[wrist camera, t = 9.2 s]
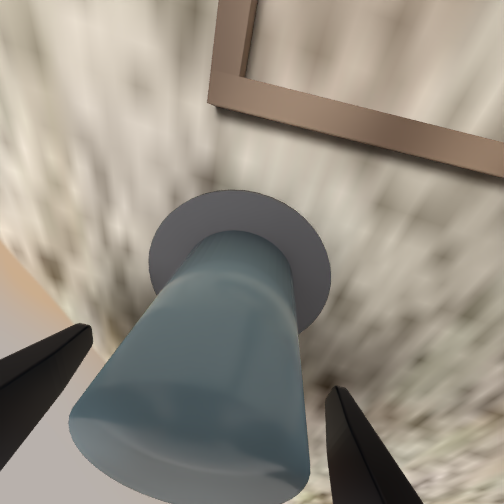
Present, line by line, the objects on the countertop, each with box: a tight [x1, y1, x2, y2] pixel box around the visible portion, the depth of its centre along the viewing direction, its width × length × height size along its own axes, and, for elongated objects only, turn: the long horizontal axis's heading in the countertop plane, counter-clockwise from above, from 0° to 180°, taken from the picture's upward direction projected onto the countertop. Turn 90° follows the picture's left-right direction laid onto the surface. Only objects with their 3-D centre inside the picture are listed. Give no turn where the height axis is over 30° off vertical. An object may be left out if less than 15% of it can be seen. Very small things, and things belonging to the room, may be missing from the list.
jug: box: [69, 230, 310, 504], centre depth 10 cm, size 8×6×8 cm
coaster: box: [149, 190, 331, 334], centre depth 13 cm, size 10×10×1 cm
